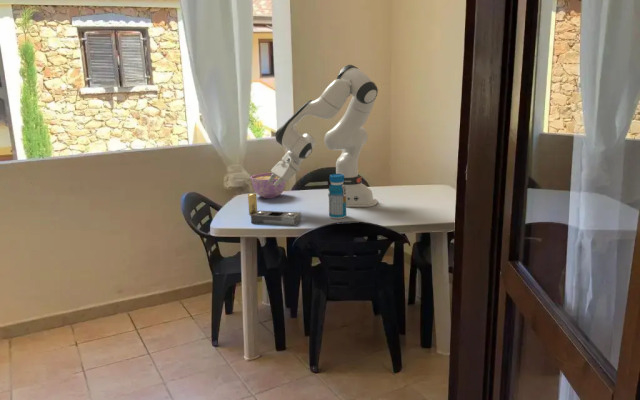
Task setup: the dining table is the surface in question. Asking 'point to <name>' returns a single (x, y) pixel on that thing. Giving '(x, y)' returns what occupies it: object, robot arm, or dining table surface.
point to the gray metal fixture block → (276, 217)
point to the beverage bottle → (337, 197)
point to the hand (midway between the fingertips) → (271, 183)
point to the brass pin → (252, 203)
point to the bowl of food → (266, 185)
